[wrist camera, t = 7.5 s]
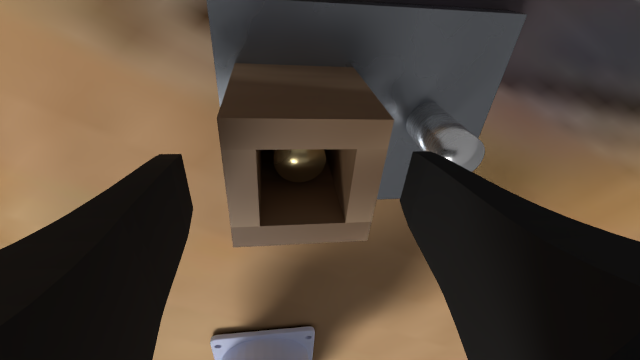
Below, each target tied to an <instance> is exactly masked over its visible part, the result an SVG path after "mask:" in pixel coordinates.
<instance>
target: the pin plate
mask: <svg viewBox="0 0 640 360" xmlns="http://www.w3.org/2000/svg"><path fill="white" fill-rule="evenodd" d="M207 7H208V15H209V23H210V31H211V39H212V47H213V55H214V63H215V71H216V79H217V87H218V95H219V103H220V107H221V104H222V101H223V98H224V95H225V91H226V88H227V85H228V82H229V79H230V76H231V73H232V70H233V67H234V64H235V63H246V64H274V65H302V66H330V67H354V69H355V70H356V71H357V72H358V74H359V75H360V76H361V78H362V79H363V80H364V81H365V83H366V84H367V85H368V87H369V88H370V89H371V91H372V92H373V93H374V94H375V96H376V97H377V98H378V100H379V101H380V102H381V103H382V105H383V106H384V107H385V109H386V110H387V111H388V112H389V114H390V115H391V116H392V118H393V119H394V123H393V128H392V132H391V137H390V141H389V146H388V150H387V155H386V159H385V164H384V168H383V173H382V177H381V182H380V186H379V191H378V195H377V199H399V198H401V194H402V190H403V187H404V183H405V179H406V175H407V171H408V168H409V164H410V160H411V156H412V152H413V151H431V152H434V153H436V154H438V155H441V156H443V157H445V158H447V159H449V160H451V161H452V162H454V163H456V164H458V165H460V166H462V167H464V168H465V169H467V170H469V171H471V172H472V171H474V170H475V169H476V168H477V167H478V166H479V164H480V163H481V161H482V159H483V157H484V153H485V148H484V145H483V143H482V142H481V141H480V140H479V139H478V138H479V135H480V133H481V130H482V127H483V125H484V122H485V120H486V117H487V115H488V112H489V110H490V107H491V105H492V102H493V100H494V97H495V95H496V92H497V89H498V87H499V84H500V82H501V79H502V77H503V74H504V72H505V69H506V67H507V64H508V62H509V59H510V57H511V54H512V51H513V49H514V46H515V44H516V41H517V39H518V36H519V34H520V31H521V29H522V26H523V24H524V21H525V19H526V16H527V14H523V13H518V12H513V11H509V10H495V9H478V8H461V7H445V6H428V5H412V4H395V3H378V2H362V1H345V0H207ZM273 152H274V166H275V169H276V171H277V172H278V174H279V175H280V176H281V177H283V178H284V179H286V180H288V181H292V182H306V181H309V180H312V179H314V178H315V177H317V176H318V175H319V174H320V173H321V172H322V170H323V169H324V166H325V163H326V155H325V152H324V149H290V150H273Z"/></svg>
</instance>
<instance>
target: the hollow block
mask: <svg viewBox="0 0 640 360" xmlns="http://www.w3.org/2000/svg"><path fill="white" fill-rule="evenodd" d="M217 123H218V131H219V139H220V147H221V154H222V162H223V170H224V178H225V186H226V194H227V202H228V209H229V217H230V225H231V233H232V241H233V247H251V246H271V245H291V244H311V243H332V242H352V241H368V236H369V231H370V227H371V222H372V218H373V213H374V209H375V204H376V200H377V195H378V191H379V186H380V182H381V177H382V173H383V168H384V164H385V159H386V155H387V150H388V146H389V141H390V137H391V132H392V128H393V123H394V119H393V118H392V116H391V115H390V114H389V112H388V111H387V110H386V109H385V107H384V106H383V105H382V103H381V102H380V101H379V100H378V98H377V97H376V96H375V94H374V93H373V92H372V91H371V89H370V88H369V87H368V85H367V84H366V83H365V81H364V80H363V79H362V78H361V76H360V75H359V74H358V72H357V71H356V70H355V69H354V67H330V66H302V65H274V64H246V63H235V64H234V67H233V70H232V73H231V76H230V79H229V82H228V85H227V88H226V91H225V95H224V98H223V101H222V104H221V107H220V110H219V113H218V116H217ZM290 149H324V152H325V155H326V163H325V166H324V169H323V170H322V172H321V173H320V174H319V175H318V176H317V177H315V178H314V179H312V180H309V181H306V182H292V181H288V180H286V179H284V178H283V177H281V176H280V175H279V174H278V172H277V171H276V169H275V166H274V152H273V150H290Z"/></svg>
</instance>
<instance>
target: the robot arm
mask: <svg viewBox="0 0 640 360" xmlns="http://www.w3.org/2000/svg"><path fill="white" fill-rule="evenodd" d="M400 203H401V206H402V209H403V212H404V215H405V218H406V221H407V223H408V226H409V228H410V230H411V232H412V234H413V236H414V238H415V240H416V242H417V244H418V246H419V248H420V250H421V252H422V253H423V255H424V257H425V259H426V261H427V263H428V265H429V267H430V269H431V271H432V272H433V274H434V276H435V278H436V280H437V282H438V284H439V286H440V288H441V290H442V293H443V295H444V297H445V300H446V302H447V305H448V307H449V310H450V312H451V315H452V317H453V320H454V322H455V325H456V328H457V330H458V333H459V336H460V339H461V342H462V344H463V347H464V350H465V353H466V355H467V358H468V360H640V242H639V241H636V240H632V239H629V238H626V237H623V236H620V235H616V234H613V233H610V232H608V231H605V230H602V229H599V228H596V227H593V226H590V225H587V224H584V223H582V222H579V221H576V220H574V219H571V218H568V217H566V216H563V215H561V214H558V213H556V212H554V211H551V210H549V209H546V208H544V207H541V206H539V205H537V204H535V203H532V202H530V201H528V200H526V199H524V198H521V197H519V196H517V195H515V194H513V193H511V192H509V191H507V190H505V189H503V188H501V187H499V186H497V185H495V184H493V183H491V182H490V181H488V180H486V179H484V178H482V177H480V176H478V175H476V174H475V173H473V172H471V171H469V170H467V169H465V168H464V167H462V166H460V165H458V164H456V163H454V162H452V161H451V160H449V159H447V158H445V157H443V156H441V155H438V154H436V153H434V152H431V151H413V152H412V156H411V160H410V164H409V168H408V171H407V175H406V179H405V183H404V187H403V190H402V194H401V198H400ZM192 211H193V206H192V201H191V196H190V192H189V187H188V183H187V178H186V173H185V169H184V164H183V160H182V155H181V154H159V155H158V156H156V157H154V158H152V159H151V160H149V161H148V162H146V163H145V164H143V165H142V166H140V167H139V168H138V169H136V170H135V171H133V172H132V173H130V174H129V175H128V176H126V177H125V178H123V179H122V180H120V181H119V182H117V183H116V184H114V185H113V186H111V187H110V188H109V189H107V190H106V191H104V192H102V193H101V194H99V195H98V196H96V197H95V198H93V199H91V200H90V201H88V202H87V203H85V204H83V205H82V206H80V207H79V208H77V209H75V210H74V211H72V212H71V213H69V214H67V215H65V216H64V217H62V218H60V219H59V220H57V221H55V222H53V223H51V224H50V225H48V226H46V227H44V228H42V229H40V230H38V231H36V232H34V233H33V234H31V235H29V236H27V237H25V238H23V239H21V240H19V241H17V242H15V243H13V244H11V245H9V246H7V247H5V248H2V249H0V360H152V359H153V354H154V350H155V345H156V340H157V336H158V331H159V327H160V322H161V318H162V315H163V311H164V308H165V304H166V301H167V298H168V295H169V292H170V289H171V286H172V283H173V280H174V277H175V274H176V271H177V268H178V265H179V263H180V260H181V257H182V253H183V250H184V247H185V244H186V241H187V238H188V234H189V229H190V223H191V217H192ZM314 337H315V330H314V328H313V327H311V326H307V327H296V328H286V329H275V330H264V331H253V332H242V333H232V334H221V335H214V336H212V337H211V341H210V344H211V348H212V352H213V355H214V359H215V360H312V357H313V347H314Z"/></svg>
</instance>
